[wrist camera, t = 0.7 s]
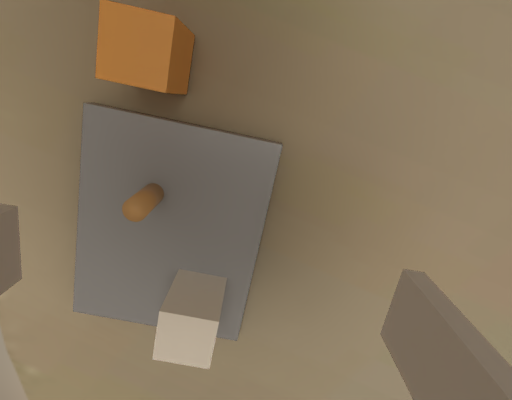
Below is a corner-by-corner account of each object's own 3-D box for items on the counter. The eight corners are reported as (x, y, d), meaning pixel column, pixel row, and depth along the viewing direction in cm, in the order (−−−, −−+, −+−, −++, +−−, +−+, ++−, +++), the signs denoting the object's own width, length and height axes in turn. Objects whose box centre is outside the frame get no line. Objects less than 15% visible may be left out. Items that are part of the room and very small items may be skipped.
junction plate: (91, 102, 30) (30, 103, 22) (281, 142, 31) (289, 158, 23) (80, 303, 37) (29, 361, 28) (237, 331, 38) (232, 395, 29)
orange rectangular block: (137, 22, 28) (100, -2, 22) (194, 35, 28) (175, 16, 22) (132, 82, 30) (95, 77, 23) (186, 94, 30) (165, 93, 23)
